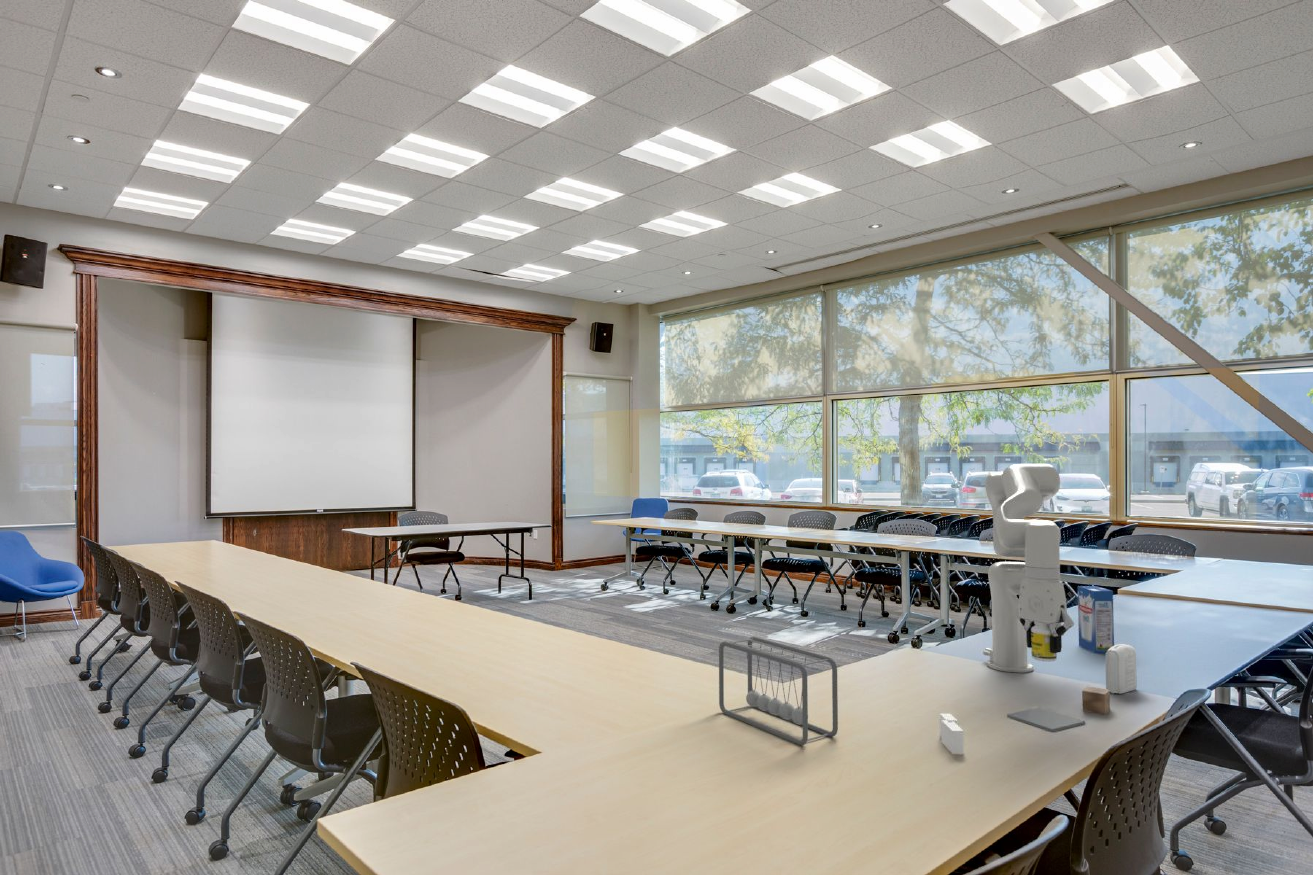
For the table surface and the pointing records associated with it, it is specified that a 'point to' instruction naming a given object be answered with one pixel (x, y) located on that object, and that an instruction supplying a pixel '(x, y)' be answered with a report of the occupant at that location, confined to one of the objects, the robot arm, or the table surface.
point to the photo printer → (1121, 669)
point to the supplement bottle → (1041, 642)
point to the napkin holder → (951, 734)
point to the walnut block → (1096, 700)
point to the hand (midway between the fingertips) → (1043, 648)
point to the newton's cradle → (775, 704)
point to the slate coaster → (1046, 719)
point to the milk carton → (1095, 618)
